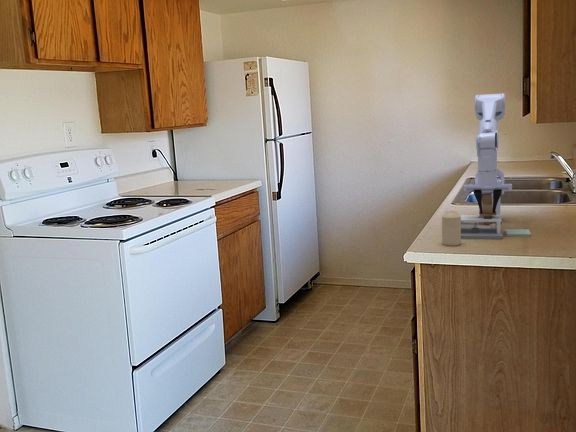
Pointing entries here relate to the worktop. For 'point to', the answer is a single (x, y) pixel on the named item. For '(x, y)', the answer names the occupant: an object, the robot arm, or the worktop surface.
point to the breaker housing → (481, 232)
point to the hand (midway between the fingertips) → (487, 213)
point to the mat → (518, 232)
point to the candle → (451, 228)
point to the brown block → (487, 207)
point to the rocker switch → (474, 225)
